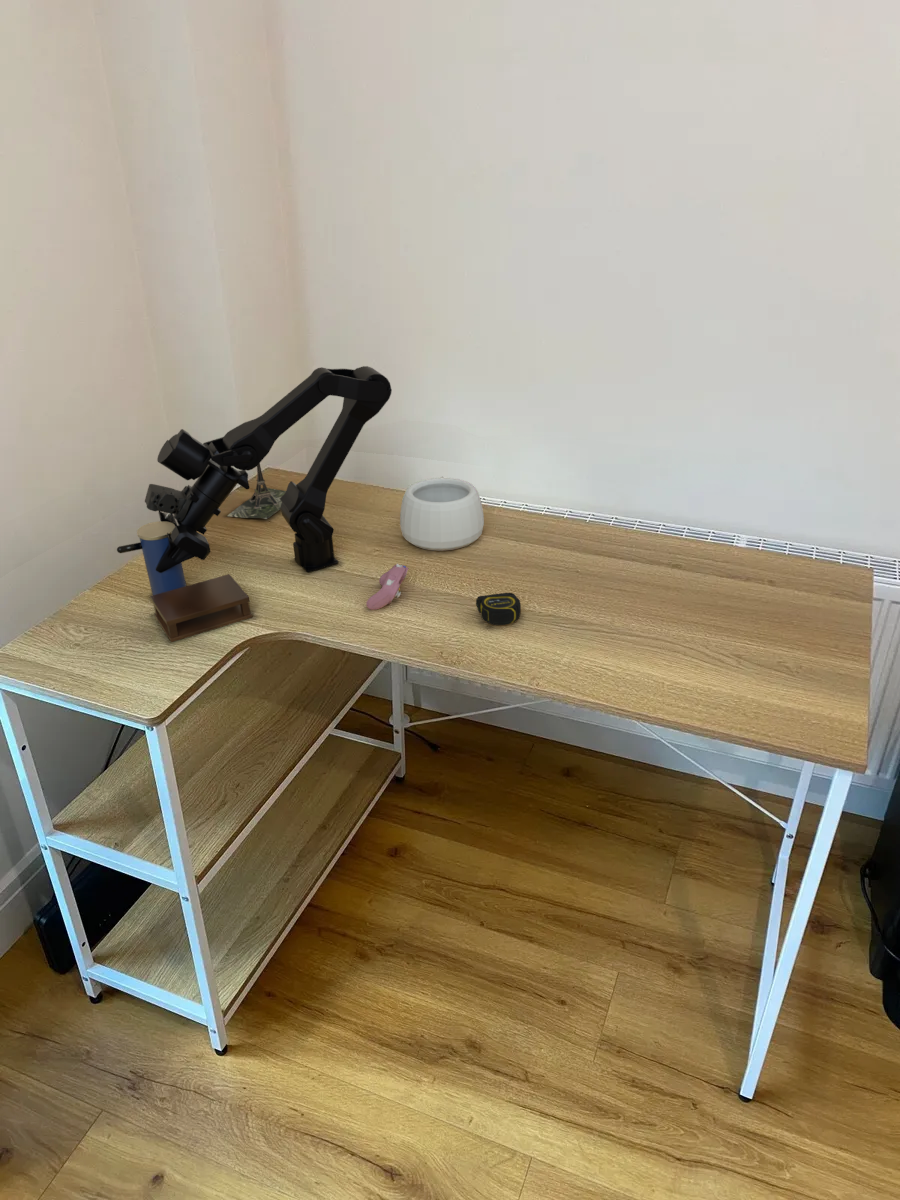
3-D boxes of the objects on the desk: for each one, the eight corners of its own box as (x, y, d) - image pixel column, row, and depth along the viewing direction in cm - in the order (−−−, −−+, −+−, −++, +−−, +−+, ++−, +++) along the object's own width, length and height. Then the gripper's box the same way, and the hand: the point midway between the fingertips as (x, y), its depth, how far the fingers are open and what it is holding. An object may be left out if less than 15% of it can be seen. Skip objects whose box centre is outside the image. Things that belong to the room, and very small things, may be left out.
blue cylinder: (185, 582, 158) (172, 518, 151) (191, 598, 153) (178, 532, 146) (127, 595, 154) (111, 530, 148) (132, 611, 149) (115, 544, 143)
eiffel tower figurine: (267, 522, 180) (259, 462, 173) (226, 516, 183) (216, 456, 177) (302, 495, 192) (296, 437, 185) (263, 489, 195) (255, 433, 189)
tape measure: (514, 607, 147) (515, 588, 146) (525, 627, 142) (525, 608, 140) (475, 611, 146) (475, 592, 145) (484, 632, 141) (484, 612, 139)
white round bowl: (484, 554, 165) (484, 506, 160) (398, 555, 165) (395, 508, 160) (482, 508, 183) (482, 464, 178) (404, 510, 184) (402, 466, 179)
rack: (232, 593, 154) (229, 573, 152) (252, 617, 147) (249, 597, 145) (154, 616, 148) (149, 596, 146) (171, 642, 140) (166, 621, 138)
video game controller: (386, 620, 148) (402, 590, 144) (363, 608, 147) (378, 577, 144) (401, 592, 156) (416, 563, 152) (378, 580, 156) (393, 551, 152)
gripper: (160, 451, 151) (108, 520, 153) (177, 487, 136) (120, 563, 138) (212, 484, 158) (162, 550, 160) (234, 523, 143) (178, 595, 145)
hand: (155, 563), depth 150 cm, fingers closed on blue cylinder, 6 cm apart
